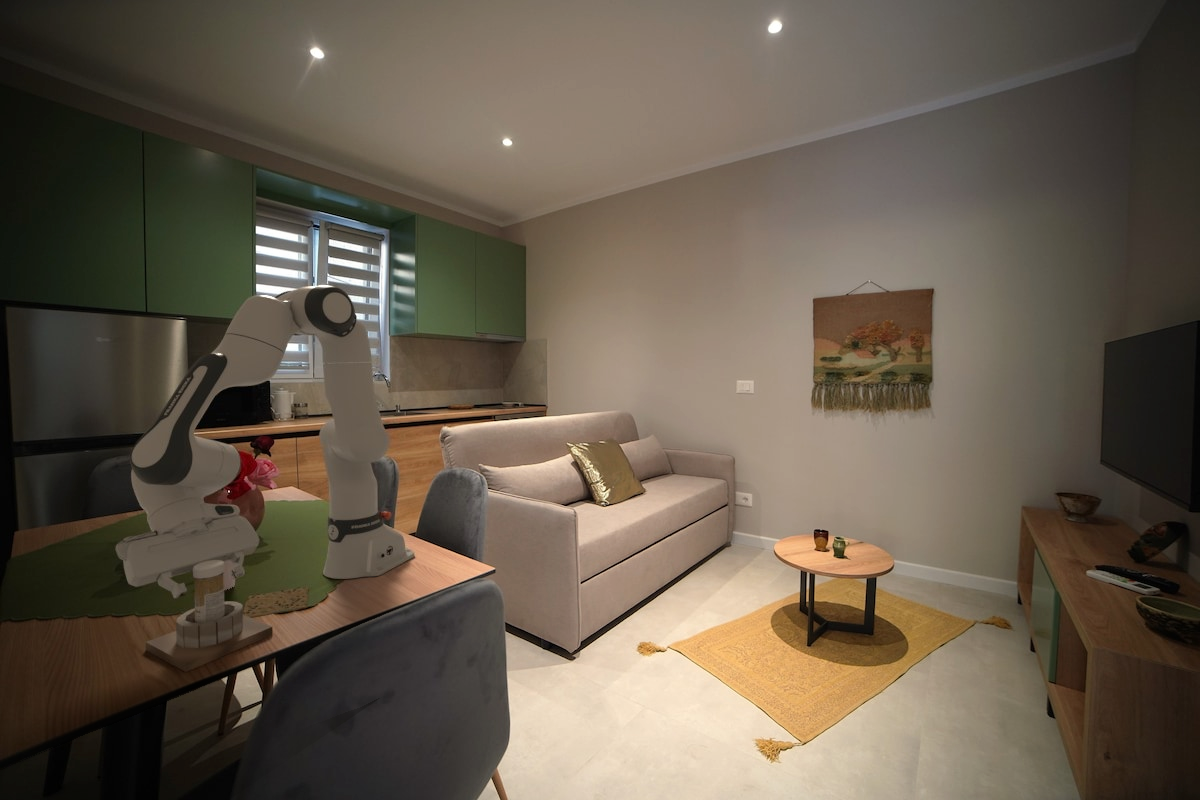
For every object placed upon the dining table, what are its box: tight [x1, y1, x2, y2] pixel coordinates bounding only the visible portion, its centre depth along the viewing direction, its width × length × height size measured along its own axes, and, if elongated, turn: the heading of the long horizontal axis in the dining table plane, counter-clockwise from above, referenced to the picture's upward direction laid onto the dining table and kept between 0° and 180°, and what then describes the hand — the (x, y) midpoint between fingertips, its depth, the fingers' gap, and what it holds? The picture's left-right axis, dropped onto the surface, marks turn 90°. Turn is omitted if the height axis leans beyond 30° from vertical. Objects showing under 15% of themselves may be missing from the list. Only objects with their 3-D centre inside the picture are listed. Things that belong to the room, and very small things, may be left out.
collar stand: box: [145, 600, 274, 673], centre depth 93 cm, size 14×14×6 cm
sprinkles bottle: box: [192, 560, 225, 623], centre depth 93 cm, size 5×5×14 cm
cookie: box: [243, 586, 310, 619], centre depth 110 cm, size 12×12×1 cm
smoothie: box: [223, 560, 236, 591], centre depth 116 cm, size 6×6×14 cm
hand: (211, 585), depth 93 cm, fingers open, 8 cm apart
